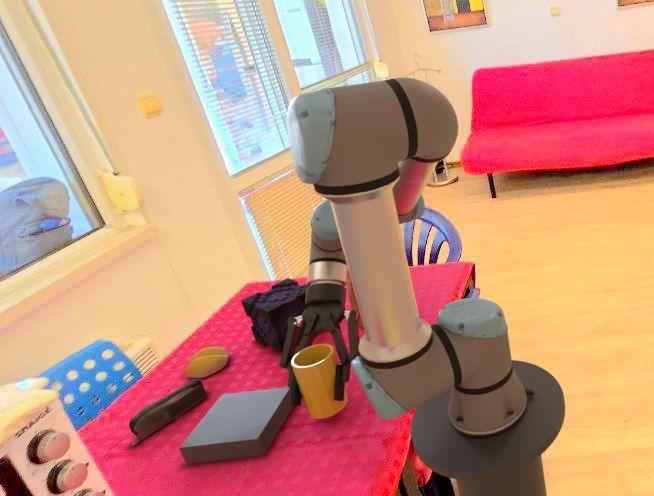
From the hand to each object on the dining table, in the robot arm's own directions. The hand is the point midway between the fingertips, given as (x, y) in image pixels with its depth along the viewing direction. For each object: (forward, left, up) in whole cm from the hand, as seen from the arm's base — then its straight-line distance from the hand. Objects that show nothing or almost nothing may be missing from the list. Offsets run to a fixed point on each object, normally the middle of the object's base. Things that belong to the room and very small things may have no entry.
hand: (317, 403), depth 99 cm
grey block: (+16, -2, -6) cm, 17 cm away
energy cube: (+21, -35, -6) cm, 41 cm away
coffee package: (+2, -41, -6) cm, 41 cm away
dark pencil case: (+34, -8, -6) cm, 36 cm away
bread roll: (+36, -25, -6) cm, 44 cm away
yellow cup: (0, -3, -4) cm, 5 cm away
